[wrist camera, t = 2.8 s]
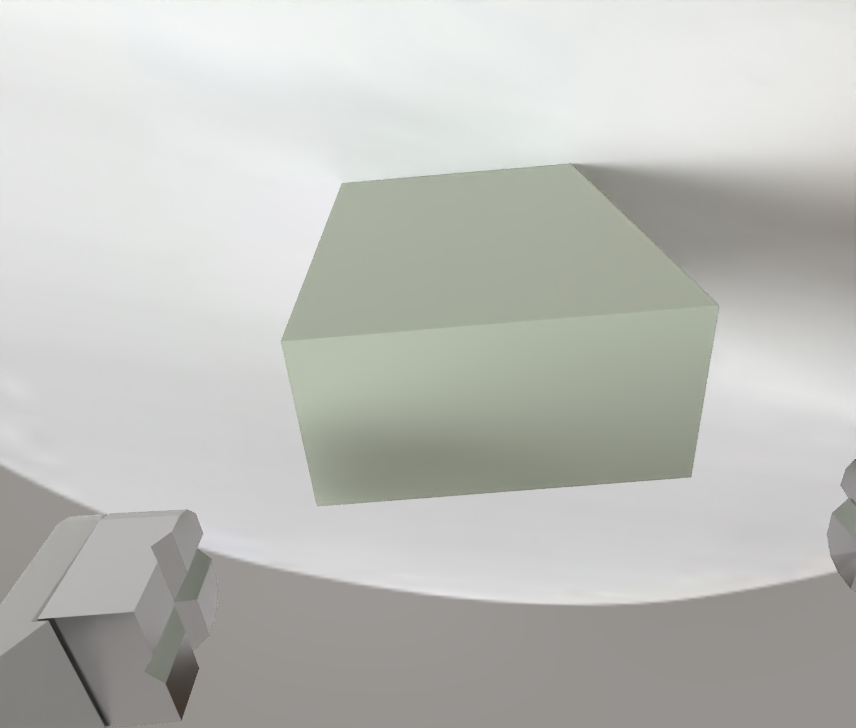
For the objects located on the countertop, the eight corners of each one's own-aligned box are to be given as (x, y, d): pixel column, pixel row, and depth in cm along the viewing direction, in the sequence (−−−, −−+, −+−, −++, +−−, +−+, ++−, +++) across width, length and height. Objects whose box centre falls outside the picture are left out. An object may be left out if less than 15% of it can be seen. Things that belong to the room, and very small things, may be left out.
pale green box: (341, 183, 16) (280, 341, 9) (570, 163, 16) (719, 305, 9) (357, 289, 18) (316, 506, 10) (567, 271, 18) (690, 477, 10)
